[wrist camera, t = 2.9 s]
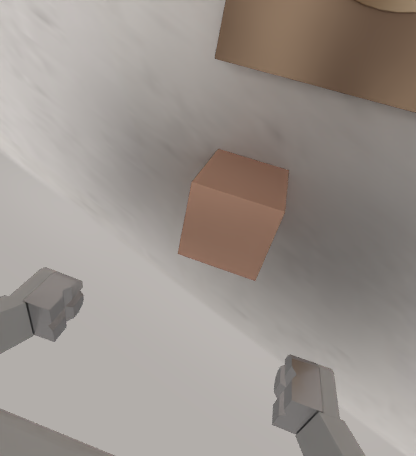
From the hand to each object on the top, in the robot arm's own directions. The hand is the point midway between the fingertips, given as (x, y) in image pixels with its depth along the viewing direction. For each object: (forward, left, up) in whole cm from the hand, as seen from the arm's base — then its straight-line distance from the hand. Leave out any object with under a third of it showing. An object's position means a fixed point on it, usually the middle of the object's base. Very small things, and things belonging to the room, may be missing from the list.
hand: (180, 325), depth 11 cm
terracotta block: (0, 0, -13) cm, 13 cm away
